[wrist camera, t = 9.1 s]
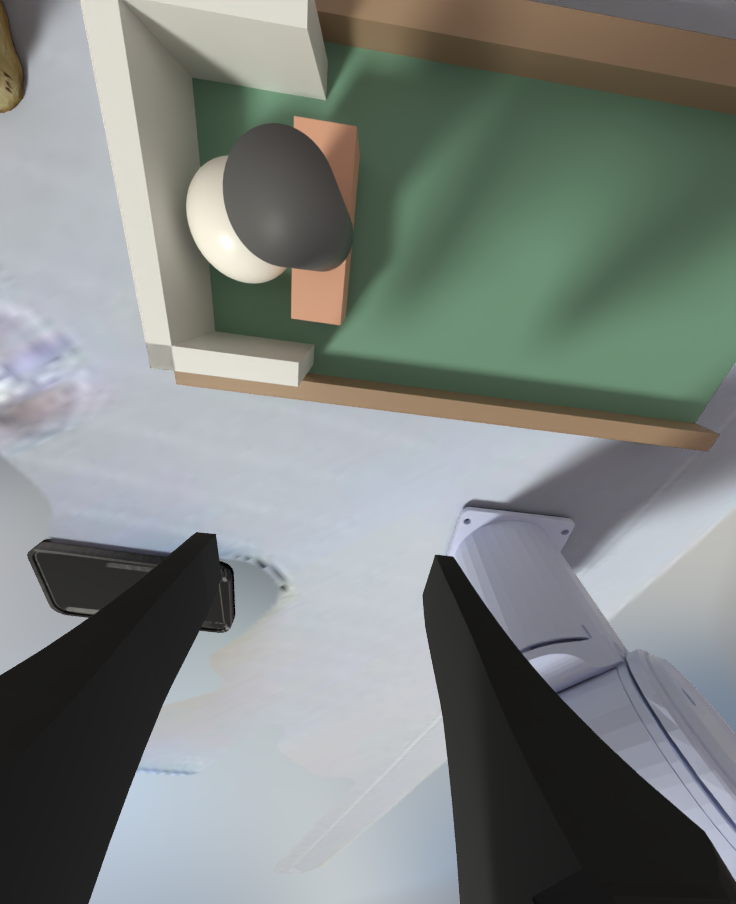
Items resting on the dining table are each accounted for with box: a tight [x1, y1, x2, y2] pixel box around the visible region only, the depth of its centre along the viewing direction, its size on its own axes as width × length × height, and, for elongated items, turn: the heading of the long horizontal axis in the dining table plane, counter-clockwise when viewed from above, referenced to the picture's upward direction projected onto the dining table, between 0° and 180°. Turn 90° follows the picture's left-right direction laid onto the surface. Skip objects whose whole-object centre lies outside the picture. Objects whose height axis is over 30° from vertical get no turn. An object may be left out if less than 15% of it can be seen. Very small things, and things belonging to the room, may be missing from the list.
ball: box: [186, 155, 286, 283], centre depth 13 cm, size 4×4×4 cm
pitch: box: [174, 0, 736, 451], centre depth 15 cm, size 14×28×2 cm, turn 83°
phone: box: [27, 539, 235, 633], centre depth 27 cm, size 8×1×15 cm
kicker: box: [223, 116, 360, 325], centre depth 10 cm, size 6×2×8 cm, turn 173°
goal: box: [80, 0, 328, 387], centre depth 12 cm, size 11×6×4 cm, turn 173°
